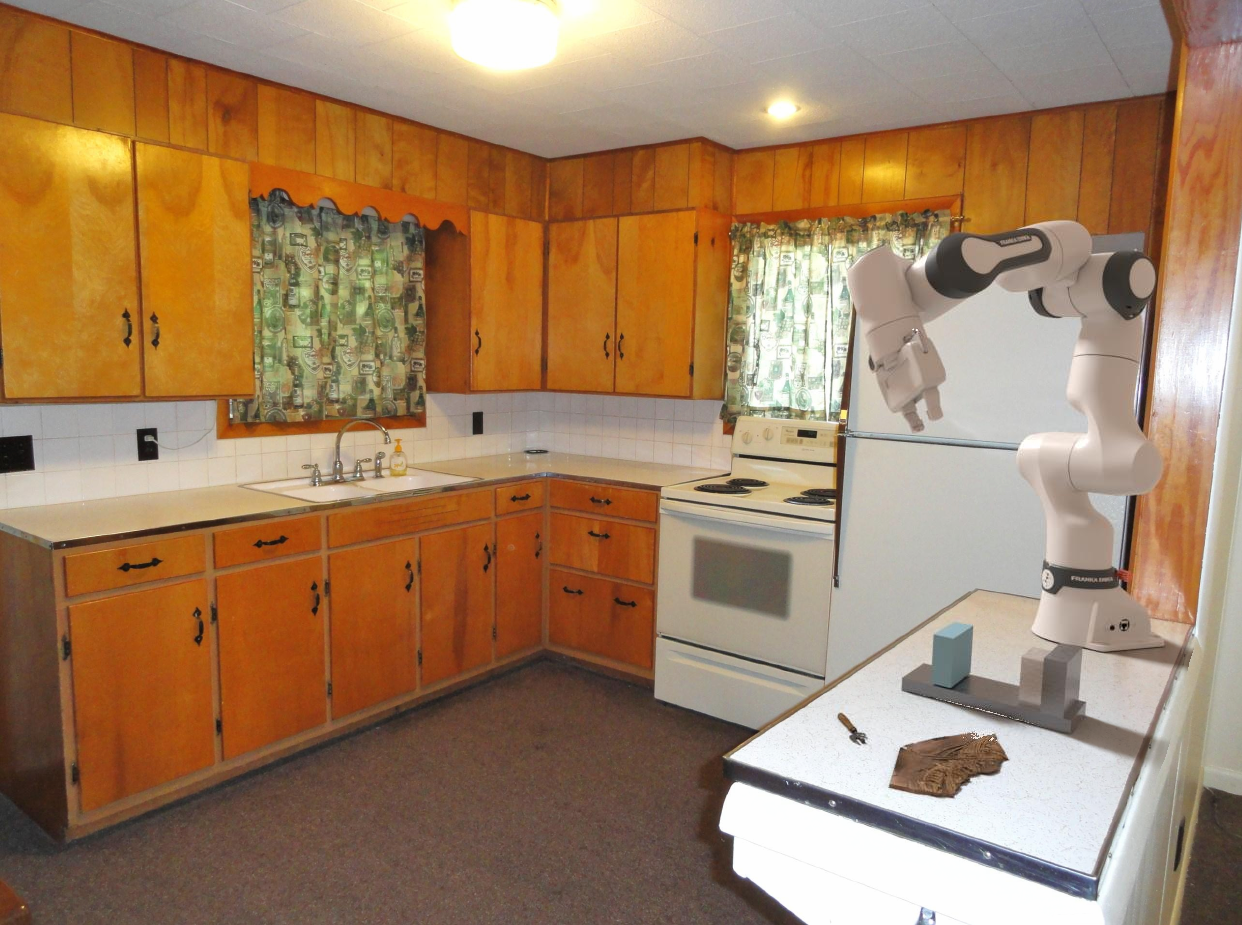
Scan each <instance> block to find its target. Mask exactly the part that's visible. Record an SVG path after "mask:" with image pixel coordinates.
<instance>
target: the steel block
mask: <svg viewBox="0 0 1242 925" xmlns="http://www.w3.org/2000/svg"><path fill="white" fill-rule="evenodd" d="M1051 651H1052V650H1050V649H1045V648H1040V647H1034V646H1032V647H1031V648H1030V649H1029V650H1027V651H1026V652H1025V653H1024V654H1023V655H1022V656H1021V660H1020V671H1019V672H1020V676H1019V677H1020V678H1019V686H1020V687H1019V702H1018V703H1019V704H1023V705H1027V706H1031V707H1035V708H1038V709H1040V705H1041V691H1042V677H1043V663H1044V657H1045V656H1047V655H1048V654H1049V653H1050V652H1051Z"/></svg>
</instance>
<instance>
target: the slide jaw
mask: <svg viewBox="0 0 1242 925" xmlns="http://www.w3.org/2000/svg"><path fill="white" fill-rule="evenodd" d="M973 636H974V625H972V624H967V623H962V622H958V621H953V622H951V623H950V624H948V625H946V626H945V627H943V628H942V629H939V630H937V632H935V633H933V635H932V638H933V639H932V640H933V641H932V657H931V665H932V671H931V683H933V684H936V685H940V686H944V687H948V688H951V687H953V686H954V685H955V684H956V683H958V682H959V681H960V680H962V679H963V678H964V677H965V676H967V675H968V674H971V669H972V654H973V642H974V640H973V638H974V637H973Z"/></svg>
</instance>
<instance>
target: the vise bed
mask: <svg viewBox="0 0 1242 925" xmlns="http://www.w3.org/2000/svg"><path fill="white" fill-rule="evenodd" d="M1083 648H1084V647H1081V646H1075V645H1069V644H1064V643H1058V644H1057V645H1056V646H1055V647H1054V648H1053V649H1052V650H1050V651H1051V652H1050V653H1049V654H1048V655H1047V656H1045V657H1044V663H1043V677H1042V691H1041V705H1040V709H1038V708H1035V707H1031V706H1027V705H1023V704H1019V703H1018V702H1019V687H1020V685H1017V684H1012V683H1007V682H1004V681H1000V680H996V679H991V678H987V677H983V676H981V675H976V674H975V675H974V674H971V673H969V674H968V675H967V676H965V677H964V678H963V679H962V680H960V681H959V682H958V683H956V684H955V685H954V686H953V687H951V688H948V687H944V686H940V685H936V684H933V683H931V671H932V664H928V663H922V664H920V665H919V666H917V667H916V668H914V669H912V670H911V671H910V672H908V673H907V674H905V675H904V676H903V677H902V678H901V691H904V692H907V691H908V693H911V692H912V694H915V693H916V695H919V694H921V695H920V696H922V695H925V696H924V697H926V696H929V697H928V698H930V697H933V698H932V699H934V698H938V699H942V700H946V701H951V702H954V703H958V704H962V705H965V706H970V707H973V708H979V709H982V710H985V711H990V712H993V713H997V714H1000V715H1004V716H1007V717H1011V718H1013V719H1019V720H1022V721H1026V722H1029V723H1033V724H1035V725H1034V726H1036V725H1039V726H1038V727H1040V726H1041V727H1040V728H1044V727H1045V728H1044V729H1047V728H1048V730H1051V729H1052V731H1055V732H1060V733H1063V734H1067V735H1071V734H1072V733H1073V731H1074V730H1075V729H1076V728H1077V726H1078V725H1079V724H1080V722H1081V721H1082V720H1083V719H1084V717H1085V716H1086V712H1087V711H1086V710H1087V701H1084V700H1080V698H1079V697H1080V685H1081V672H1082V660H1083ZM938 699H937V700H938ZM1013 719H1012V720H1013ZM1029 723H1028V724H1029Z"/></svg>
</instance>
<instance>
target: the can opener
mask: <svg viewBox="0 0 1242 925" xmlns="http://www.w3.org/2000/svg"><path fill="white" fill-rule="evenodd" d="M837 719H838V720H839V722H840V723H841V724H842V725H843V726H844V727H845V728H846V729H847V730H848V731H849V733H851V734H850V735H849V736H848V737H849V740H850V741H851V742H852V743H854V744H856V745H859V746H860V745H861V744H866V739H865V737H866V736H867V734H866V733H865V732H860V731H859V732H858V729H857V727H856V726H855V725H854V724H853V723H852V722H851V721H850V719H849V718H848V717H847V716H846V714H844V713H843V712H838V714H837ZM862 735H863V736H862ZM859 741H860V742H859Z"/></svg>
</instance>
